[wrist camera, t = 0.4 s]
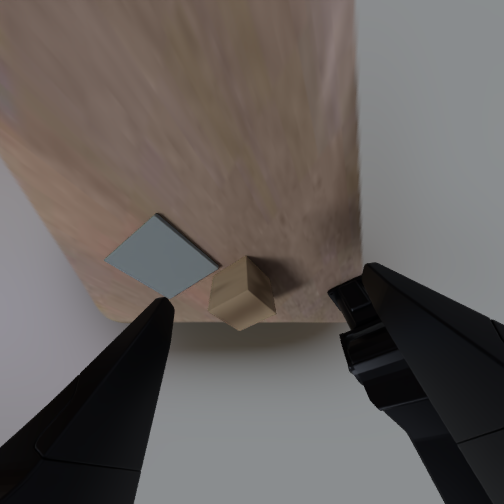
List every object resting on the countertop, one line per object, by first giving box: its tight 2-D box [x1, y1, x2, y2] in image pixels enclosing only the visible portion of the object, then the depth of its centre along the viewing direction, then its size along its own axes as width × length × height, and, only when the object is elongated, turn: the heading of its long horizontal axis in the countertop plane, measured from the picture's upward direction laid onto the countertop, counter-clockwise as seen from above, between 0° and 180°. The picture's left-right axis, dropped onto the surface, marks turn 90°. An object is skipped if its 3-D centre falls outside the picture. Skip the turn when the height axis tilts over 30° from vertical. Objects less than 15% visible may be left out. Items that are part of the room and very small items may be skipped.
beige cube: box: [208, 256, 276, 331], centre depth 25 cm, size 6×6×6 cm
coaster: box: [104, 213, 219, 299], centre depth 24 cm, size 10×10×1 cm
